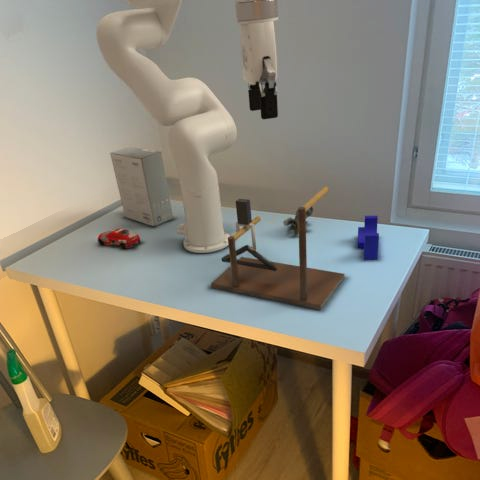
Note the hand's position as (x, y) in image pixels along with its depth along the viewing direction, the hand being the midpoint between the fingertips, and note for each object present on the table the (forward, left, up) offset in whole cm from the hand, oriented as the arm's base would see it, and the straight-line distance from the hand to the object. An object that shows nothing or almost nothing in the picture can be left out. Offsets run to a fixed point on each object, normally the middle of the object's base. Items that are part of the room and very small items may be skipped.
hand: (263, 113), depth 98 cm
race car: (-46, -2, -34) cm, 57 cm away
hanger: (-2, -7, -31) cm, 32 cm away
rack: (+5, -7, -34) cm, 35 cm away
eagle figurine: (-2, +21, -34) cm, 40 cm away
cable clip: (+18, +16, -34) cm, 42 cm away
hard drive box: (-50, +16, -34) cm, 63 cm away
